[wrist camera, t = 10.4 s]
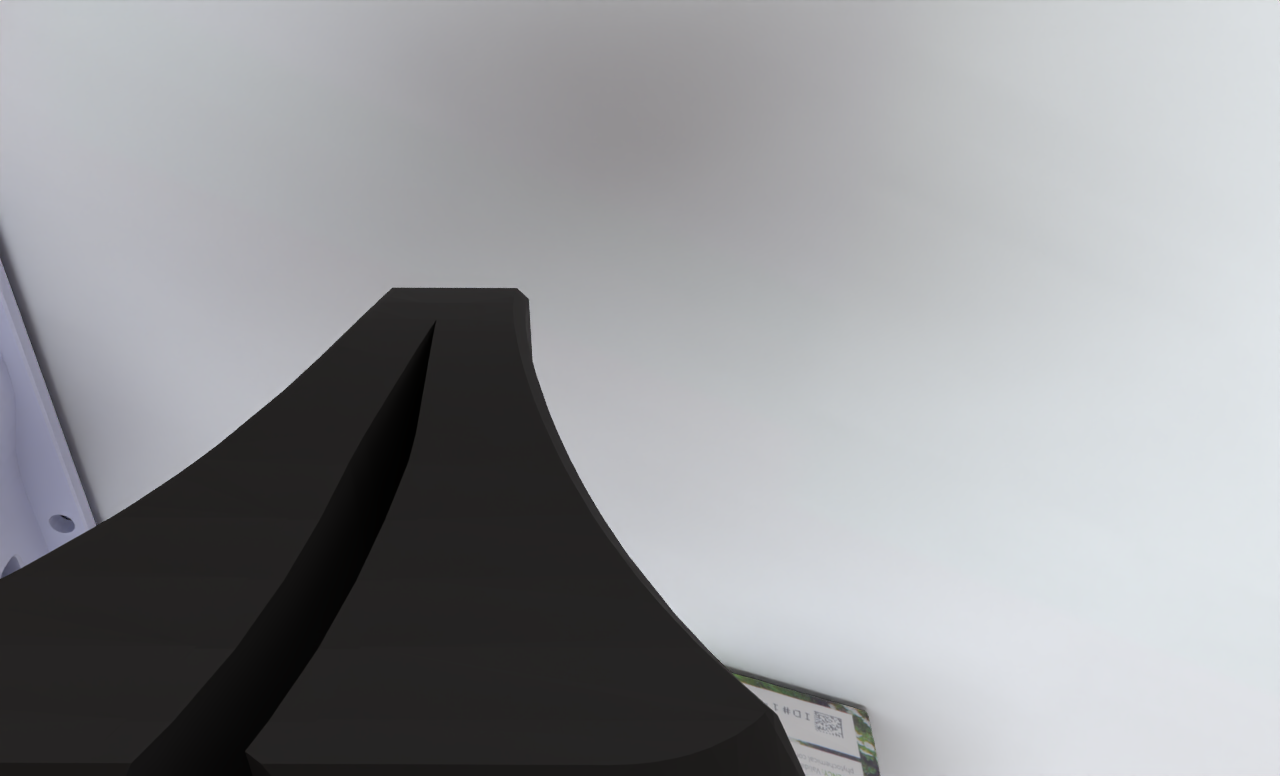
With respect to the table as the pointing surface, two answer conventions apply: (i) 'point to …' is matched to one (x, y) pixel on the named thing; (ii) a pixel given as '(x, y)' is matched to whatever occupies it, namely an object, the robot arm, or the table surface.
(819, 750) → the syrup box
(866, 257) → the table surface
